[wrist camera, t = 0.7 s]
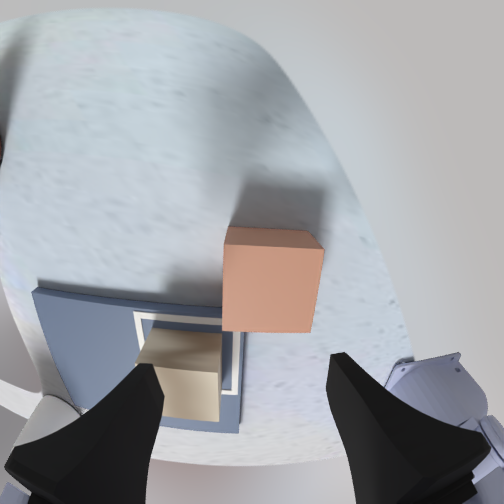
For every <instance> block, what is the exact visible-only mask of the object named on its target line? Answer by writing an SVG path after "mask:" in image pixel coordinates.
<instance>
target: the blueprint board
mask: <svg viewBox="0 0 504 504" xmlns="http://www.w3.org/2000/svg"><path fill="white" fill-rule="evenodd" d="M31 293H32V297H33V300H34V304H35V307H36V311H37V314H38V317H39V321H40V324H41V327H42V330H43V333H44V336H45V338H46V341H47V344H48V347H49V349H50V352H51V354H52V357H53V359H54V362H55V364H56V366H57V369H58V371H59V373H60V376H61V378H62V380H63V382H64V384H65V386H66V388H67V390H68V393H69V395H70V397H71V398H72V400H73V402H74V404H75V405H76V406H79V407H83V408H86V409H89V410H90V409H91V408H92V407H94V406H95V405H96V404H97V403H98V402H99V401H100V400H102V399H103V398H104V397H105V396H106V395H107V394H108V393H109V392H110V391H112V390H113V389H114V388H115V387H116V386H117V385H118V384H119V383H120V382H121V381H122V380H123V379H124V378H125V377H126V376H127V375H128V374H129V373H130V372H131V371H132V370H133V369H134V368H135V362H136V360H137V357H138V355H139V353H140V351H141V349H142V347H143V345H144V343H145V341H146V339H147V337H148V335H149V333H150V331H151V329H152V328H160V329H170V330H181V331H193V332H206V333H222V392H221V405H220V419H219V422H212V421H200V420H190V419H182V418H174V417H167V416H162V418H161V422H160V425H159V426H164V427H170V428H177V429H185V430H194V431H205V432H218V433H239V417H240V398H241V380H242V362H243V344H244V332H235V331H222V308H221V307H204V306H190V305H176V304H164V303H153V302H143V301H133V300H124V299H115V298H107V297H99V296H91V295H84V294H77V293H70V292H64V291H57V290H51V289H45V288H39V287H37V288H36V289H35V290H33V291H32V292H31Z"/></svg>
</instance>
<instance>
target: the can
mask: <svg viewBox="0 0 504 504" xmlns="http://www.w3.org/2000/svg"><path fill="white" fill-rule="evenodd" d="M80 416H81V415H80V414H79V413H78V412H77V411H76V410H75V409H74V408H73V407H72V406H71V405H70V404H68V403H67V402H65V401H64V400H62V399H60V398H58V397H56V396H53V395H46V396H44V397H43V398H42V400H41V401H40V402H39V404H38V405H37V407H36V409H35V410H34V412H33V413H32V415H31V416H30V418H29V420H28V421H27V423H26V425H25V426H24V428H23V430H22V431H21V433H20V435H19V436H18V438H17V440H16V442H15V444H14V445H13V447H12V449H11V452H12V450H13V449H14V447H15V446H19V445H22V444H25V443H29V442H32V441H35V440H38V439H40V438H43V437H45V436H47V435H50V434H52V433H54V432H56V431H58V430H59V429H61V428H63V427H65V426H66V425H68V424H70V423H72V422H73V421H75V420H76V419H78V418H79V417H80ZM11 452H10V454H11Z"/></svg>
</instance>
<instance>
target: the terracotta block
mask: <svg viewBox="0 0 504 504" xmlns="http://www.w3.org/2000/svg"><path fill="white" fill-rule="evenodd" d="M324 250H325V249H324V248H323V247H322V246H321V245H320V244H319V243H318V242H317V240H316V239H315V238H314V237H313V236H312V235H311V234H310V233H309V232H308V231H301V230H285V229H268V228H249V227H229V226H228V229H227V233H226V238H225V242H224V257H223V304H222V331H235V332H265V333H310V332H311V327H312V322H313V316H314V311H315V306H316V300H317V294H318V288H319V283H320V276H321V270H322V264H323V257H324Z"/></svg>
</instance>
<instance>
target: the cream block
mask: <svg viewBox="0 0 504 504" xmlns="http://www.w3.org/2000/svg"><path fill="white" fill-rule="evenodd" d="M139 363H150V364H153V366H154V369H155V372H156V375H157V377H158V380H159V383H160V385H161V388H162V391H163V393H164V396H165V399H164V406H163V413H162V416H167V417H174V418H182V419H190V420H200V421H212V422H219V419H220V405H221V392H222V333H206V332H193V331H181V330H170V329H160V328H152V329H151V331H150V333H149V335H148V337H147V339H146V341H145V343H144V345H143V347H142V349H141V351H140V353H139V355H138V357H137V360H136V362H135V367H136V366H137V365H138V364H139Z"/></svg>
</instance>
